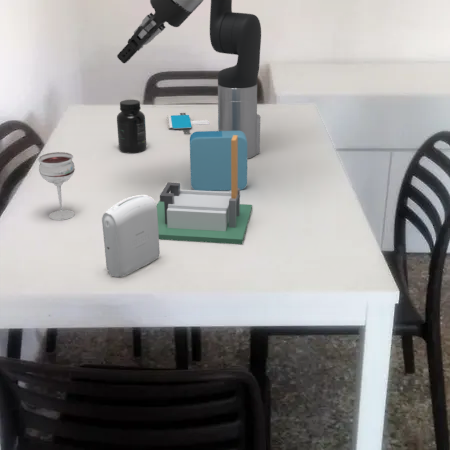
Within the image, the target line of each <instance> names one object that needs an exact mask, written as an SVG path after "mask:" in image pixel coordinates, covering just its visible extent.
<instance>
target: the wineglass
mask: <svg viewBox="0 0 450 450" xmlns="http://www.w3.org/2000/svg"><path fill="white" fill-rule="evenodd" d="M73 158H74V155H73V154H72V153H69V152H65V151H54V152H49V153H45V154H41V155H40V156H38V158H37V161H38V162H39V164H38V171H39V175H40V177H41V178H42V179H43V180H45V181H46V182H47V183H49V184H53V185H54V186H56V191H57V197H58V204H59V210H56V211H53V212H51V213H49V215H48V217H49V219H51V220H54V221H64V220H68V219H71V218H73V217H74V216H75V215H76V214H75V212H74V211H72V210H69V209H63V199H62V185H63V184H64V183H66V182H68V181H69V180H70V179H71V178H72V177H73V175H74V174H75V170H76V168H75V163H74V161H73Z"/></svg>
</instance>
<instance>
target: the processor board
mask: <svg viewBox="0 0 450 450" xmlns="http://www.w3.org/2000/svg"><path fill="white" fill-rule="evenodd" d="M238 195H239V197H238V200H237V203H236V199H234V198H231V191H200V190H194V189H181V183H180V182H167V183H166V185H165V186H164V187H163V189H162V191H161V193H160V194H159V201H158V202H157V203H156V206H157V216H158V233H159V240H164V241H179V242H195V243H210V244H211V243H215V244H229V245H230V244H231V245H232V244H233V245H243V243H244V241H245V237H246V233H247V230H248V226H249V221H250V218H251V215H252V212H253V204H248V203H247V204H244V203H241V190H240V188H238Z"/></svg>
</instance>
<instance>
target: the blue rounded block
mask: <svg viewBox="0 0 450 450" xmlns="http://www.w3.org/2000/svg"><path fill="white" fill-rule="evenodd" d="M190 134H191V135H190V136H189V163H190V165H189V166H190V167H189V168H190V169H189V170H190V187H191V188H192V190H200V191H220V192H227V191H231V140H232V137H233V135H238V188H240V191H242V190H244V189H246V187H247V185H248V158H247V139H246V136H245V134H244V133H243V132H242V131H218V130H213V131H212V130H209V131H208V130H206V131H201V130H200V131H194V132H192V133H190Z"/></svg>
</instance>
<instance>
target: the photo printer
mask: <svg viewBox="0 0 450 450" xmlns="http://www.w3.org/2000/svg"><path fill="white" fill-rule="evenodd" d="M101 223H102V225H101V226H102V232H103V233H102V235H103V243H104V254H105V255H104V256H105V263H106V264H105V265H106V266H105V267H106V270H107V271H108V273H109V275H110V276H112V277H115V278H120V277H125V276H127V275H129V274H131V273H133V272H135V271H137V270H139V269H140V268H143V267H144V266H146V265H148V264H150V263H152V262H154V261H155V260H157V259H159V258H160V253H161V252H160V251H161V250H160V239H159V233H158V216H157V203H156V201H155V199H154V198H153V197H152V196H149V195H147V194H137V195H133V196H132V195H131V196H129V197H125V198H124V199H121V200H119V201H118V202H116V203H114V204H113V205H112V206H111V207H109V208H108V209H107V210H106V211H105V212H104V213H103V215H102V217H101Z"/></svg>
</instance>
